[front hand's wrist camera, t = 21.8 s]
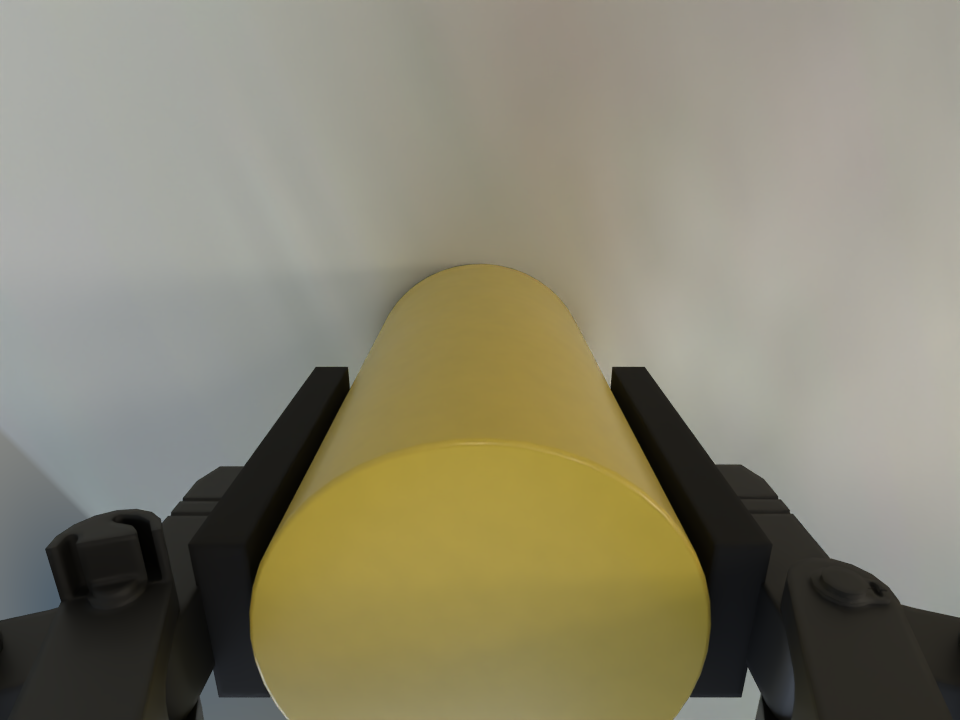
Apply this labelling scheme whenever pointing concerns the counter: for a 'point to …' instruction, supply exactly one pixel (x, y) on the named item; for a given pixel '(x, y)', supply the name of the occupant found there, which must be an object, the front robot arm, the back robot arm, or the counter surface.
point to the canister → (480, 532)
